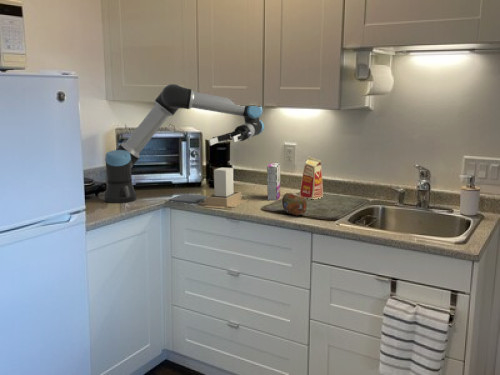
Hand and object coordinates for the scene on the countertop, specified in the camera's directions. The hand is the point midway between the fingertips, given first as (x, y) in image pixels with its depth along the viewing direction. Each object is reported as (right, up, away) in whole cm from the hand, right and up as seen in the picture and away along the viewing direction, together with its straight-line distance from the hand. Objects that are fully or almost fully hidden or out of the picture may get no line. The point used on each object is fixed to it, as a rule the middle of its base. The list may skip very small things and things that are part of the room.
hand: (221, 141), depth 241 cm
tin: (+32, -33, -22) cm, 51 cm away
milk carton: (+44, -27, +10) cm, 52 cm away
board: (-16, -28, +7) cm, 33 cm away
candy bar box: (+25, -27, +9) cm, 38 cm away
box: (+1, -29, 0) cm, 29 cm away
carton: (+1, -29, 0) cm, 29 cm away
